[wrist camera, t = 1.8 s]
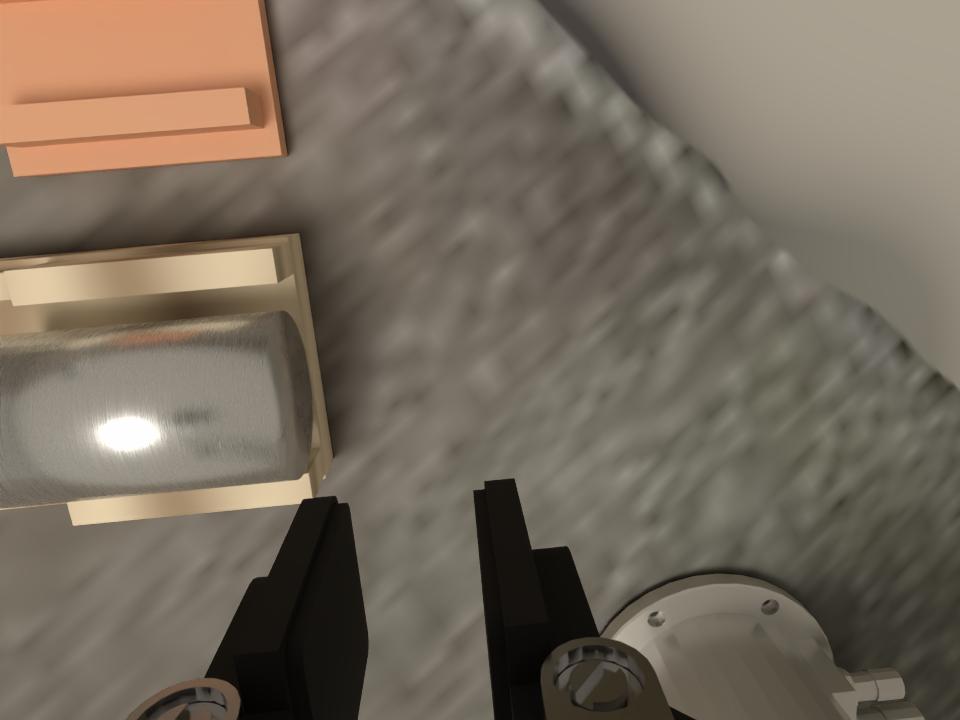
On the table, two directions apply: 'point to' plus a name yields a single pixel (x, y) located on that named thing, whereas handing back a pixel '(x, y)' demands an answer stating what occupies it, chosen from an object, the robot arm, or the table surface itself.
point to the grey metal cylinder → (153, 408)
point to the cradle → (136, 84)
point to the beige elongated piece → (172, 296)
